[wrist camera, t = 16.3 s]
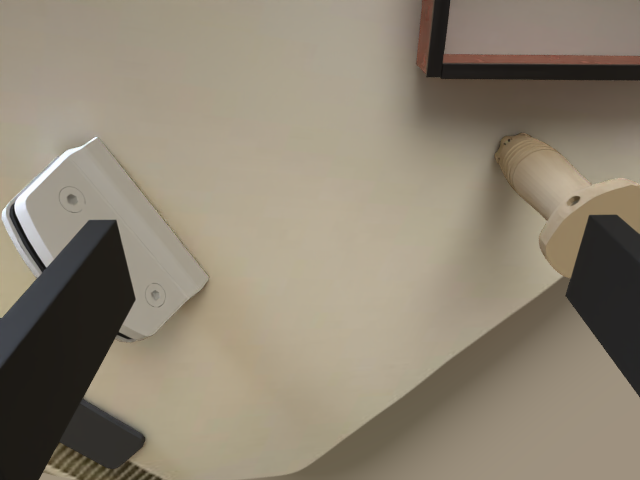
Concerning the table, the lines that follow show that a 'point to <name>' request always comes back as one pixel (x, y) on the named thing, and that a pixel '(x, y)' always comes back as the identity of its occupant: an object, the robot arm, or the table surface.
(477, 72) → the red black rectangular frame
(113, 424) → the phone
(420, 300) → the table surface
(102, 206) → the white piece
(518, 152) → the handle
